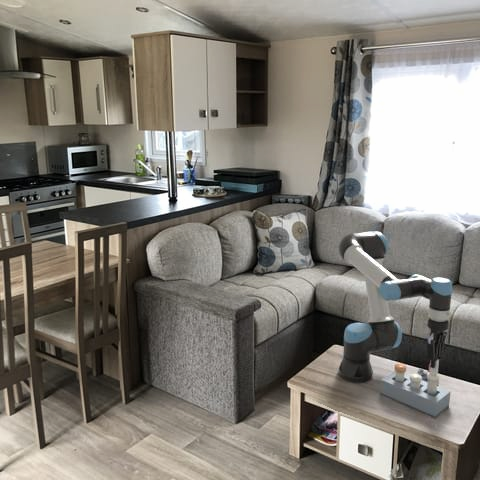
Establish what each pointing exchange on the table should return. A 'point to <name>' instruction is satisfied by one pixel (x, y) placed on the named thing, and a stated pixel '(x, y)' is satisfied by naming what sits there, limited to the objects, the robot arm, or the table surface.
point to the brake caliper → (425, 375)
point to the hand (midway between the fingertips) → (433, 374)
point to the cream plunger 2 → (432, 384)
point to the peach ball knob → (400, 372)
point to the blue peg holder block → (415, 395)
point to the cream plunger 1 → (415, 381)
